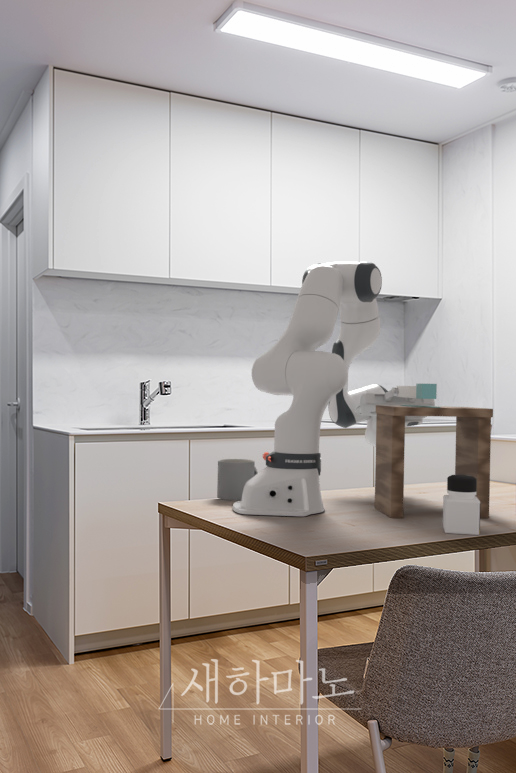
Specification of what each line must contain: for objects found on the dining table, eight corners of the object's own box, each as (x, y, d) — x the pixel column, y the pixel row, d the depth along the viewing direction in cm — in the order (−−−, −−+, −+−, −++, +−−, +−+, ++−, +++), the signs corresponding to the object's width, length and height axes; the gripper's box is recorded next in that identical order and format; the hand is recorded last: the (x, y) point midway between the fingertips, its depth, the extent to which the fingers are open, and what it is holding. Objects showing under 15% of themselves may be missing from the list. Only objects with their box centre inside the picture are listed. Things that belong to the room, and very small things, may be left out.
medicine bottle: (480, 535, 145) (481, 478, 145) (444, 533, 146) (445, 476, 146) (476, 528, 152) (477, 474, 152) (442, 527, 153) (443, 472, 153)
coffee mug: (231, 501, 181) (232, 463, 181) (209, 496, 189) (210, 459, 189) (271, 497, 190) (271, 460, 190) (248, 492, 198) (249, 457, 198)
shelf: (391, 518, 162) (394, 406, 162) (373, 506, 178) (375, 404, 178) (490, 518, 164) (493, 407, 164) (464, 507, 180) (466, 406, 180)
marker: (436, 399, 165) (436, 383, 165) (421, 398, 165) (421, 383, 165) (406, 397, 188) (406, 383, 188) (393, 396, 188) (393, 383, 188)
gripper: (353, 403, 196) (364, 378, 185) (423, 404, 199) (438, 380, 187) (355, 423, 193) (366, 399, 181) (426, 424, 195) (442, 400, 183)
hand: (404, 389), depth 184 cm, fingers closed on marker, 3 cm apart
